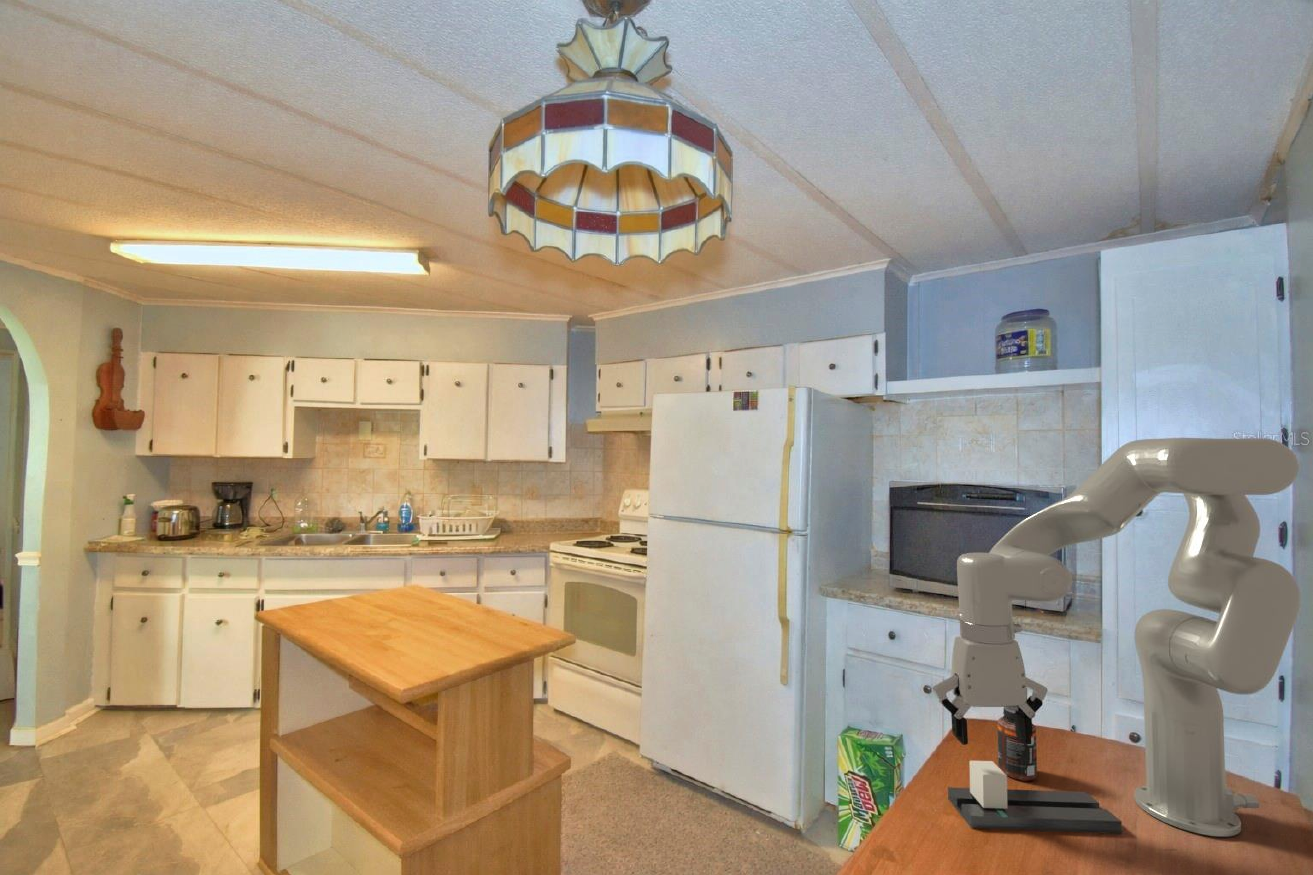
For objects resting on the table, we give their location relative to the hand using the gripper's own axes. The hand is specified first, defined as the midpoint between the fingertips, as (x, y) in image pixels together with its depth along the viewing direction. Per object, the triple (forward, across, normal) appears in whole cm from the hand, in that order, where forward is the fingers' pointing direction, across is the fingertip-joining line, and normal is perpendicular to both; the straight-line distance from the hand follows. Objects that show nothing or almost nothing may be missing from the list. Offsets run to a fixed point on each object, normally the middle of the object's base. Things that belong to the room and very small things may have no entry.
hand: (992, 740), depth 94 cm
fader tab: (+10, +1, 0) cm, 10 cm away
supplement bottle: (+12, -10, -13) cm, 20 cm away
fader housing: (+12, -5, 0) cm, 13 cm away
